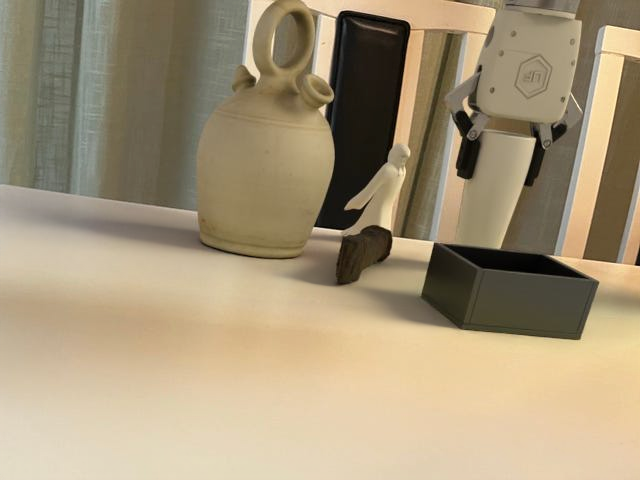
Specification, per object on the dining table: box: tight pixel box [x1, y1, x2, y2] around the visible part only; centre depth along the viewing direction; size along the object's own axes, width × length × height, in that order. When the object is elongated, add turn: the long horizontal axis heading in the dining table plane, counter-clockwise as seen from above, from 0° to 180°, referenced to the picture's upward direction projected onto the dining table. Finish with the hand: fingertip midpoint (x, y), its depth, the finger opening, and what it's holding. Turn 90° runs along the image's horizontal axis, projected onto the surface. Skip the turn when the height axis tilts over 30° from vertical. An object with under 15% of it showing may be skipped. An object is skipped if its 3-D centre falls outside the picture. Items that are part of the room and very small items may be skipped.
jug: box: [195, 0, 336, 259], centre depth 112 cm, size 15×16×25 cm
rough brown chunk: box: [335, 225, 394, 284], centre depth 111 cm, size 19×4×5 cm, turn 156°
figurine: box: [339, 142, 411, 237], centre depth 127 cm, size 8×8×12 cm
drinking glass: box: [453, 128, 536, 249], centre depth 118 cm, size 7×7×15 cm
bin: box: [420, 241, 600, 341], centre depth 100 cm, size 12×12×6 cm
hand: (494, 180), depth 116 cm, fingers closed on drinking glass, 6 cm apart
